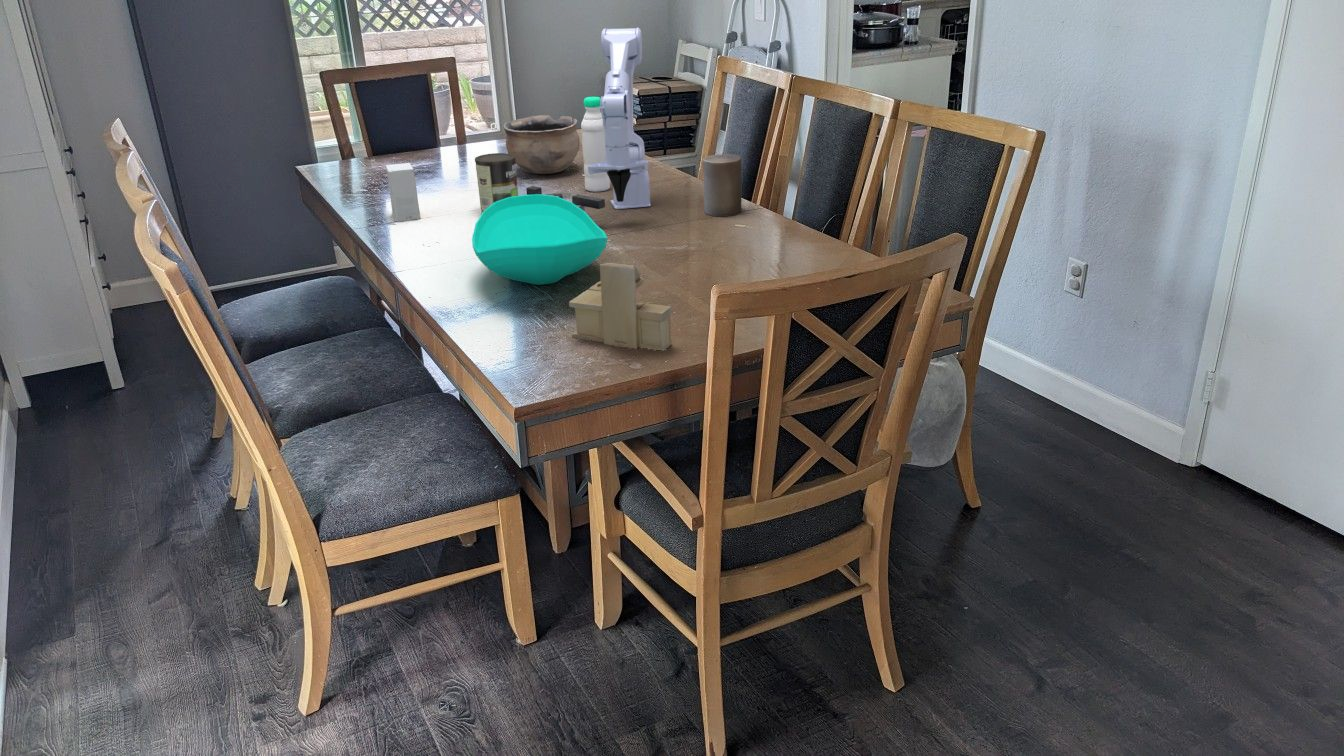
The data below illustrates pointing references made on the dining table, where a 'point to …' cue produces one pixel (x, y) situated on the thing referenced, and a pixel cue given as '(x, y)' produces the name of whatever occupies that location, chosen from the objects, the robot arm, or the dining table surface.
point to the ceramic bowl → (542, 143)
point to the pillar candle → (722, 185)
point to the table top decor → (536, 238)
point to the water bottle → (594, 145)
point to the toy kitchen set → (620, 312)
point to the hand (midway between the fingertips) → (619, 200)
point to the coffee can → (496, 178)
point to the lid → (572, 198)
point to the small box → (403, 192)
